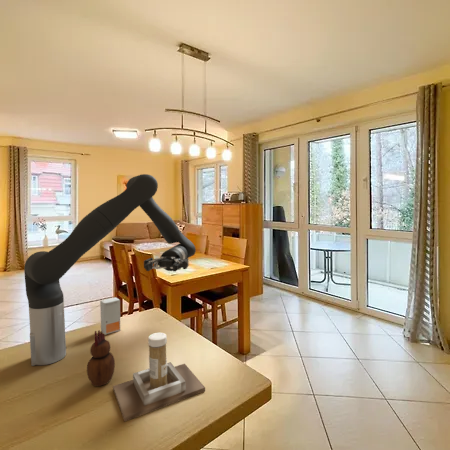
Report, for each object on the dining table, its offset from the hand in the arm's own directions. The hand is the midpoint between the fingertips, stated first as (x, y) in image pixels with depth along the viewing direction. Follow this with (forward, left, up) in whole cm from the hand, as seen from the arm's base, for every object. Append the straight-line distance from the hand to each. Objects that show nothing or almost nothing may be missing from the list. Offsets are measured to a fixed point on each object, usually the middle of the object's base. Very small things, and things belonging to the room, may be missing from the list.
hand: (160, 268), depth 91 cm
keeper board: (-7, -17, -28) cm, 33 cm away
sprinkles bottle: (-7, -17, -27) cm, 33 cm away
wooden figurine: (-19, -5, -28) cm, 34 cm away
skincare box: (-11, +27, -28) cm, 40 cm away
